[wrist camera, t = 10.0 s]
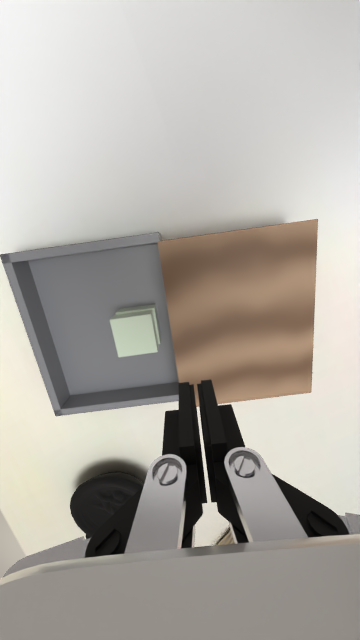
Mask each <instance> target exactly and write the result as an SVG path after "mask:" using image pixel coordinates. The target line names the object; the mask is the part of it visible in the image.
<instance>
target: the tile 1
mask: <svg viewBox="0 0 360 640" xmlns="http://www.w3.org/2000/svg"><path fill="white" fill-rule="evenodd" d="M110 324H111V328H112V332H113V336H114V341H115V345H116V349H117V353H118V357H125V356H133V355H140V354H147V353H154V352H158V348H159V344H158V338H157V332H156V327H155V321H154V316H153V310H147V311H140V312H133V313H126V314H119V315H113V317H112V318H111V319H110Z"/></svg>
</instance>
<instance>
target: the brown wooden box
mask: <svg viewBox="0 0 360 640" xmlns="http://www.w3.org/2000/svg"><path fill="white" fill-rule="evenodd" d="M317 230H318V219H314V220H307V221H300V222H293V223H286V224H279V225H271V226H264V227H257V228H250V229H243V230H236V231H228V232H221V233H214V234H207V235H200V236H193V237H185V238H178V239H171V240H164V241H157V242H158V248H159V255H160V261H161V268H162V274H163V281H164V287H165V294H166V300H167V307H168V314H169V320H170V327H171V333H172V340H173V346H174V353H175V359H176V366H177V372H178V379H179V383H183V382H189V384H190V385H191V384H194V392H195V400H196V407H198V406H199V397H198V388H197V384H200V383H201V380H210V379H211V380H212V384H213V388H214V392H215V396H216V400H217V404H222V403H230V402H238V401H246V400H254V399H263V398H271V397H279V396H287V395H295V394H303V393H311V387H312V361H313V335H314V308H315V282H316V256H317Z"/></svg>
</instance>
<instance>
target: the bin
mask: <svg viewBox="0 0 360 640" xmlns="http://www.w3.org/2000/svg"><path fill="white" fill-rule="evenodd" d="M157 241H161V236H160V234H159V233H151V234H144V235H137V236H129V237H122V238H115V239H108V240H101V241H94V242H87V243H80V244H72V245H65V246H58V247H51V248H44V249H37V250H30V251H23V252H15V253H8V254H1V255H0V257H1V260H2V263H3V266H4V269H5V271H6V274H7V277H8V280H9V283H10V286H11V289H12V292H13V295H14V297H15V300H16V303H17V306H18V309H19V312H20V315H21V318H22V320H23V323H24V326H25V329H26V332H27V335H28V338H29V341H30V344H31V346H32V349H33V352H34V355H35V358H36V361H37V364H38V367H39V369H40V372H41V375H42V378H43V381H44V384H45V387H46V390H47V393H48V395H49V398H50V401H51V404H52V407H53V410H54V413H55V416H61V415H69V414H77V413H85V412H93V411H101V410H109V409H117V408H125V407H133V406H141V405H149V404H157V403H165V402H173V401H179V379H178V372H177V366H176V359H175V353H174V346H173V340H172V333H171V327H170V320H169V314H168V307H167V300H166V294H165V287H164V281H163V274H162V268H161V261H160V255H159V248H158V242H157ZM153 304H156V309H157V316H158V322H159V328H160V334H161V343H160V344H159V348H158V352H154V353H147V354H140V355H133V356H125V357H118V353H117V349H116V345H115V341H114V336H113V332H112V328H111V324H110V319H111V318H112V317H113V315H116V312H117V310H118V309H121V308H129V307H137V306H145V305H153Z"/></svg>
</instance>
